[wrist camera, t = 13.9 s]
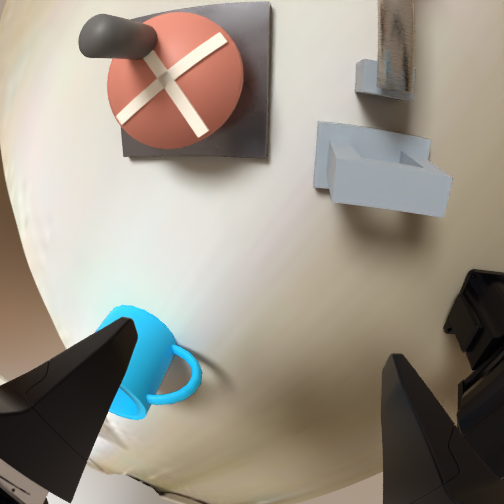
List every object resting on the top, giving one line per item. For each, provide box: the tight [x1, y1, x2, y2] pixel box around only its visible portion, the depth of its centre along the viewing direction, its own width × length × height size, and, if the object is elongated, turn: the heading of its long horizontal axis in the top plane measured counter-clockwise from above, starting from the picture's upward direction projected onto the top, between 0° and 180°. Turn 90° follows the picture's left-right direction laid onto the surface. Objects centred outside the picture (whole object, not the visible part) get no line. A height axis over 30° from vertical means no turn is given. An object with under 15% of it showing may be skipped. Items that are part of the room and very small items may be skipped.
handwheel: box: [79, 12, 243, 149], centre depth 13 cm, size 8×8×6 cm
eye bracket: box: [313, 59, 453, 218], centre depth 14 cm, size 7×8×6 cm
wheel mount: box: [121, 2, 270, 158], centre depth 16 cm, size 10×10×1 cm
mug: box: [96, 305, 202, 420], centre depth 26 cm, size 12×8×8 cm
